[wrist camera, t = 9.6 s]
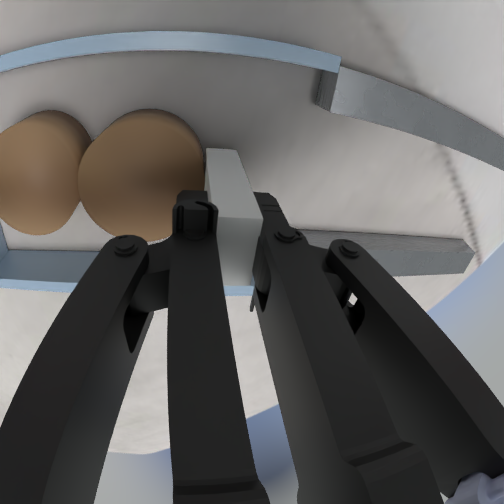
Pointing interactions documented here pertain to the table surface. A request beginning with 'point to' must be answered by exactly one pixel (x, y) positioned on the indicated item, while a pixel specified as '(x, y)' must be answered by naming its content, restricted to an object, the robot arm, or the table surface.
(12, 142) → the disc
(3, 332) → the table surface
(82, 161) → the disc
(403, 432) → the robot arm
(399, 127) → the slot rails
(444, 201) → the table surface
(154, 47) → the tray
